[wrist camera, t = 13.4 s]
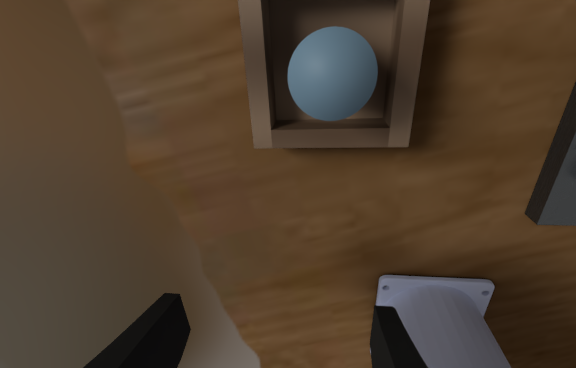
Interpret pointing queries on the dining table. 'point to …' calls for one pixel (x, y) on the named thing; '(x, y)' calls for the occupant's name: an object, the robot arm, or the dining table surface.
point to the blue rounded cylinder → (332, 73)
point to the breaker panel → (558, 176)
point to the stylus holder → (293, 30)
